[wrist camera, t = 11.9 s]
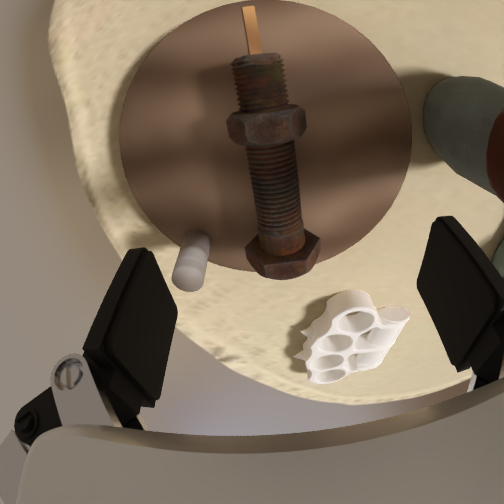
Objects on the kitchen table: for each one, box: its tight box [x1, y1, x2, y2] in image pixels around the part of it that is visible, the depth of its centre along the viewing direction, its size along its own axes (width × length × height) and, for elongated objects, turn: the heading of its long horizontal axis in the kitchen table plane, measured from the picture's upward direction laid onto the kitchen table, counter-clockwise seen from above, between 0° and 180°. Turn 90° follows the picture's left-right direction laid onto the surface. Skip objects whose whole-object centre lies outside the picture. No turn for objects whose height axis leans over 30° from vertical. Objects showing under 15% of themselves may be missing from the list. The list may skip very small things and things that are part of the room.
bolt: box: [226, 53, 321, 280], centre depth 18 cm, size 6×5×15 cm
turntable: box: [120, 0, 412, 292], centre depth 19 cm, size 23×23×6 cm
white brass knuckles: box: [293, 289, 410, 384], centre depth 36 cm, size 3×18×15 cm
